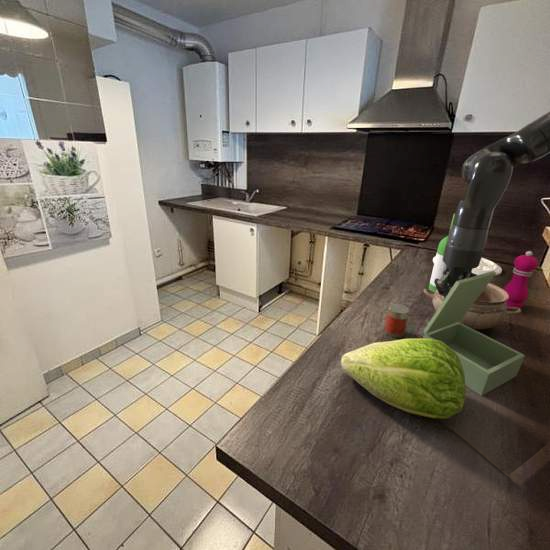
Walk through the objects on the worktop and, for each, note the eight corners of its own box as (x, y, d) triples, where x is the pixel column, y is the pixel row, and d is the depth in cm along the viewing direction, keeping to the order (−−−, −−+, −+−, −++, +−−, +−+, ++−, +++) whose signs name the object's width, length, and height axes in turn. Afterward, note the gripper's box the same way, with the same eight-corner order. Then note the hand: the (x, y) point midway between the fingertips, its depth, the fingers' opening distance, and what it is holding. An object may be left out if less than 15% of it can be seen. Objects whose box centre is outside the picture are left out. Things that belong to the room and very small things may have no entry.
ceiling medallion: (452, 252, 156) (454, 246, 155) (513, 268, 134) (515, 262, 133) (420, 261, 143) (421, 255, 142) (481, 281, 121) (483, 274, 120)
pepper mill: (526, 306, 101) (548, 252, 93) (518, 312, 97) (540, 256, 90) (502, 298, 107) (520, 246, 99) (494, 304, 103) (512, 250, 95)
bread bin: (515, 378, 69) (525, 355, 66) (480, 398, 63) (489, 373, 60) (452, 342, 82) (458, 321, 79) (418, 356, 76) (423, 334, 74)
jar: (393, 328, 89) (398, 301, 85) (408, 337, 84) (413, 310, 81) (379, 332, 86) (384, 305, 83) (394, 342, 82) (399, 314, 78)
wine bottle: (455, 293, 110) (476, 214, 99) (443, 298, 107) (464, 217, 95) (435, 286, 117) (453, 211, 105) (423, 290, 113) (441, 213, 101)
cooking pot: (414, 325, 90) (422, 290, 85) (422, 301, 104) (429, 270, 100) (515, 353, 78) (531, 313, 73) (508, 321, 92) (521, 286, 88)
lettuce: (338, 415, 65) (362, 380, 77) (468, 438, 50) (471, 391, 63) (325, 352, 64) (351, 328, 76) (454, 357, 49) (460, 326, 62)
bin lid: (496, 272, 69) (493, 270, 69) (459, 283, 63) (456, 281, 63) (460, 321, 79) (457, 319, 79) (425, 334, 73) (422, 331, 74)
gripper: (462, 253, 62) (443, 323, 68) (498, 245, 67) (477, 310, 74) (431, 244, 68) (416, 308, 75) (466, 237, 73) (450, 298, 80)
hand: (447, 309), depth 74 cm, fingers closed
